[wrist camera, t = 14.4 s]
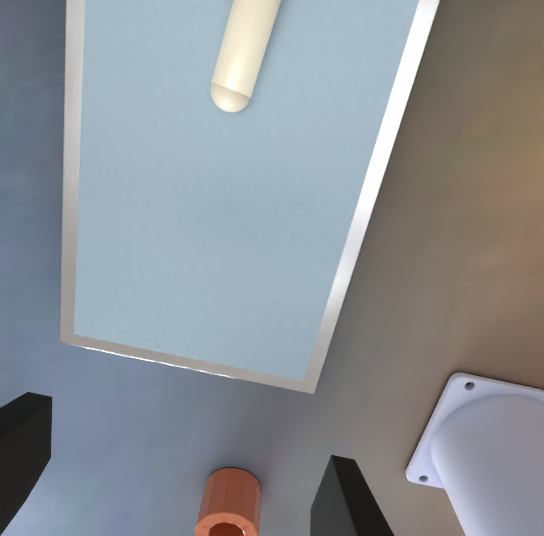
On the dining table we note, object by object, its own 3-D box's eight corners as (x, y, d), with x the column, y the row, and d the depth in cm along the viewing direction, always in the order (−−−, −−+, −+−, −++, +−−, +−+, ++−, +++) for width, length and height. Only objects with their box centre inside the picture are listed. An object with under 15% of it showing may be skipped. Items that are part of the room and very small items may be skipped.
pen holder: (266, 473, 24) (263, 520, 21) (254, 512, 25) (250, 561, 22) (210, 462, 24) (199, 508, 21) (201, 502, 25) (190, 550, 22)
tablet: (467, -102, 13) (478, -115, 13) (313, 386, 21) (314, 395, 20) (80, -206, 13) (67, -227, 12) (66, 335, 21) (58, 343, 20)
